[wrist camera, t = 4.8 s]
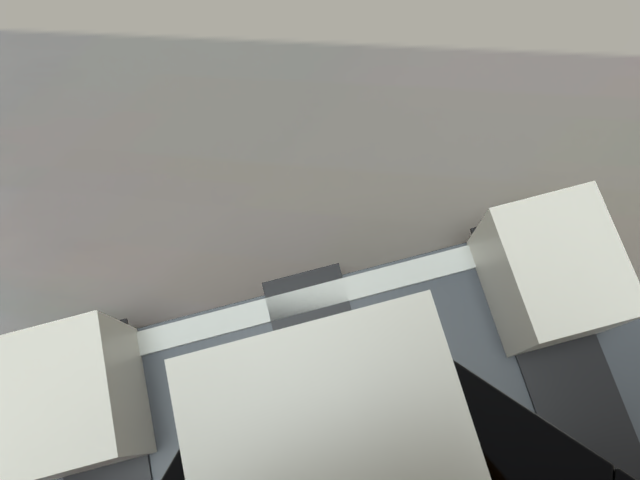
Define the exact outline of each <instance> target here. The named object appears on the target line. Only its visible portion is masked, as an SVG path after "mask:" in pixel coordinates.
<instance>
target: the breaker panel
mask: <svg viewBox="0 0 640 480" xmlns="http://www.w3.org/2000/svg"><path fill="white" fill-rule="evenodd" d="M470 231H471V233H472V235H471V236H470V238H469V240H468V241H467V243H463V244H459V245H455V246H451V247H448V248H444V249H440V250H436V251H432V252H429V253H425V254H421V255H417V256H413V257H409V258H406V259H402V260H398V261H394V262H390V263H386V264H383V265H379V266H375V267H371V268H367V269H364V270H360V271H356V272H352V273H348V274H344V275H342V274H341V270H340V266H339V263H337V264H333V265H330V266H326V267H322V268H318V269H314V270H310V271H307V272H303V273H299V274H295V275H291V276H287V277H283V278H280V279H276V280H272V281H268V282H264V283H262V286H263V290H264V294H265V295H264V296H260V297H256V298H253V299H249V300H245V301H241V302H237V303H234V304H230V305H226V306H222V307H218V308H214V309H211V310H207V311H203V312H199V313H195V314H191V315H188V316H184V317H180V318H176V319H172V320H169V321H165V322H161V323H157V324H153V325H149V326H146V327H142V328H138V329H137V328H134V327H132V326H130V325H128V320H127V319H122V320H117V319H115V318H113V317H111V316H109V315H106V314H104V313H102V312H100V311H98V310H95V311H91V312H88V313H84V314H80V315H76V316H72V317H68V318H64V319H61V320H57V321H53V322H49V323H45V324H41V325H38V326H34V327H30V328H26V329H22V330H18V331H14V332H11V333H7V334H3V335H0V480H161V478H162V477H163V475H164V473H165V472H166V470H167V468H168V466H169V465H170V463H171V461H172V460H173V458H174V456H175V455H176V453H177V451H178V450H179V442H178V436H177V431H176V425H175V419H174V413H173V408H172V402H171V396H170V390H169V385H168V379H167V373H166V367H165V362H164V360H165V359H169V358H173V357H176V356H180V355H184V354H188V353H191V352H195V351H199V350H203V349H207V348H210V347H214V346H218V345H222V344H226V343H229V342H233V341H237V340H241V339H245V338H248V337H252V336H256V335H260V334H263V333H267V332H271V331H275V330H279V329H282V328H286V327H290V326H294V325H298V324H301V323H305V322H309V321H313V320H316V319H320V318H324V317H328V316H332V315H335V314H339V313H343V312H347V311H351V310H354V309H358V308H362V307H366V306H370V305H373V304H377V303H381V302H385V301H388V300H392V299H396V298H400V297H404V296H407V295H411V294H415V293H419V292H423V291H426V290H430V291H431V294H432V297H433V300H434V303H435V306H436V309H437V313H438V316H439V319H440V322H441V325H442V328H443V331H444V334H445V337H446V340H447V343H448V347H449V350H450V353H451V356H452V359H453V360H454V361H456V362H458V363H459V364H461V365H462V366H464V367H465V368H467V369H468V370H470V371H471V372H473V373H474V374H476V375H477V376H479V377H480V378H482V379H484V380H485V381H487V382H488V383H490V384H491V385H493V386H494V387H496V388H497V389H499V390H500V391H502V392H503V393H505V394H506V395H508V396H509V397H511V398H513V399H514V400H516V401H517V402H519V403H520V404H522V405H523V406H525V407H526V408H528V409H529V410H531V411H532V412H534V413H535V414H537V415H539V416H540V417H542V418H543V419H545V420H546V421H548V422H549V423H551V424H552V425H554V426H555V427H557V428H558V429H560V430H561V431H563V432H565V433H566V434H568V435H569V436H571V437H572V438H574V439H575V440H577V441H578V442H580V443H581V444H583V445H584V446H586V447H587V448H589V449H591V450H592V451H594V452H595V453H597V454H598V455H600V456H601V457H603V458H604V459H606V460H607V461H609V462H610V463H612V464H613V465H614V471H615V469H616V468H620V469H622V470H623V471H625V472H626V473H628V474H629V475H631V476H632V477H634V478H635V479H637V480H640V283H639V280H638V278H637V276H636V273H635V271H634V269H633V267H632V264H631V262H630V260H629V257H628V255H627V253H626V250H625V248H624V246H623V244H622V241H621V239H620V237H619V234H618V232H617V230H616V228H615V225H614V223H613V221H612V218H611V216H610V214H609V212H608V209H607V207H606V205H605V202H604V200H603V198H602V196H601V193H600V191H599V189H598V186H597V184H596V182H595V181H592V182H588V183H584V184H580V185H576V186H573V187H569V188H565V189H561V190H557V191H553V192H549V193H546V194H542V195H538V196H534V197H530V198H526V199H523V200H519V201H515V202H511V203H507V204H503V205H499V206H496V207H492V208H489V209H488V210H487V212H486V214H485V215H484V217H483V218H482V220H481V221H480V223H479V224H478V226H477V227H475V228H471V229H470Z"/></svg>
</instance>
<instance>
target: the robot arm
mask: <svg viewBox="0 0 640 480" xmlns="http://www.w3.org/2000/svg"><path fill="white" fill-rule="evenodd" d="M453 362H454V365H455V368H456V371H457V374H458V378H459V381H460V384H461V387H462V390H463V393H464V396H465V399H466V402H467V405H468V409H469V412H470V415H471V418H472V421H473V424H474V427H475V430H476V433H477V436H478V440H479V443H480V446H481V449H482V452H483V455H484V458H485V461H486V464H487V467H488V470H489V474H490V477H491V480H637V479H635V478H634V477H632V476H631V475H629V474H628V473H626V472H625V471H623V470H622V469H620V468H616V469H615V471H614V465H613V464H612V463H610V462H609V461H607V460H606V459H604V458H603V457H601V456H600V455H598V454H597V453H595V452H594V451H592V450H591V449H589V448H587V447H586V446H584V445H583V444H581V443H580V442H578V441H577V440H575V439H574V438H572V437H571V436H569V435H568V434H566V433H565V432H563V431H561V430H560V429H558V428H557V427H555V426H554V425H552V424H551V423H549V422H548V421H546V420H545V419H543V418H542V417H540V416H539V415H537V414H535V413H534V412H532V411H531V410H529V409H528V408H526V407H525V406H523V405H522V404H520V403H519V402H517V401H516V400H514V399H513V398H511V397H509V396H508V395H506V394H505V393H503V392H502V391H500V390H499V389H497V388H496V387H494V386H493V385H491V384H490V383H488V382H487V381H485V380H484V379H482V378H480V377H479V376H477V375H476V374H474V373H473V372H471V371H470V370H468V369H467V368H465V367H464V366H462V365H461V364H459V363H458V362H456V361H454V360H453ZM161 480H185V477H184V471H183V465H182V459H181V454H180V448H179V450H178V451H177V453H176V455H175V456H174V458H173V460H172V461H171V463H170V465H169V466H168V468H167V470H166V472H165V473H164V475H163V477H162V478H161Z"/></svg>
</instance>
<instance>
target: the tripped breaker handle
mask: <svg viewBox="0 0 640 480" xmlns="http://www.w3.org/2000/svg"><path fill="white" fill-rule="evenodd" d="M164 362H165V367H166V373H167V379H168V385H169V390H170V396H171V402H172V408H173V413H174V419H175V425H176V431H177V436H178V442H179V448H180V454H181V459H182V465H183V471H184V477H185V480H491V477H490V474H489V470H488V467H487V464H486V461H485V458H484V455H483V452H482V449H481V446H480V443H479V440H478V436H477V433H476V430H475V427H474V424H473V421H472V418H471V415H470V412H469V409H468V405H467V402H466V399H465V396H464V393H463V390H462V387H461V384H460V381H459V378H458V374H457V371H456V368H455V365H454V362H453V359H452V356H451V353H450V350H449V347H448V343H447V340H446V337H445V334H444V331H443V328H442V325H441V322H440V319H439V316H438V313H437V309H436V306H435V303H434V300H433V297H432V294H431V291H430V290H426V291H423V292H419V293H415V294H411V295H407V296H404V297H400V298H396V299H392V300H388V301H385V302H381V303H377V304H373V305H370V306H366V307H362V308H358V309H354V310H351V311H347V312H343V313H339V314H335V315H332V316H328V317H324V318H320V319H316V320H313V321H309V322H305V323H301V324H298V325H294V326H290V327H286V328H282V329H279V330H275V331H271V332H267V333H263V334H260V335H256V336H252V337H248V338H245V339H241V340H237V341H233V342H229V343H226V344H222V345H218V346H214V347H210V348H207V349H203V350H199V351H195V352H191V353H188V354H184V355H180V356H176V357H173V358H169V359H165V360H164Z"/></svg>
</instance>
